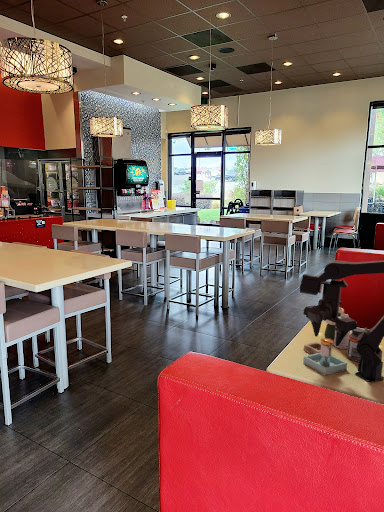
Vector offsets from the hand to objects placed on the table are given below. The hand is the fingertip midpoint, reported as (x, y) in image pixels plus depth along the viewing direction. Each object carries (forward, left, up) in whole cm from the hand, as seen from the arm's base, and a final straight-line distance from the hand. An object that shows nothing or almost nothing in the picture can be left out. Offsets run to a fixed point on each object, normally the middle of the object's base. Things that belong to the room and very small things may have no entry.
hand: (326, 341), depth 132 cm
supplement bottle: (0, -16, -10) cm, 19 cm away
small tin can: (0, 0, -9) cm, 9 cm away
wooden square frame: (+10, -7, -9) cm, 15 cm away
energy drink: (+10, -20, -10) cm, 24 cm away
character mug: (+18, -24, -10) cm, 31 cm away
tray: (0, 0, -9) cm, 9 cm away
